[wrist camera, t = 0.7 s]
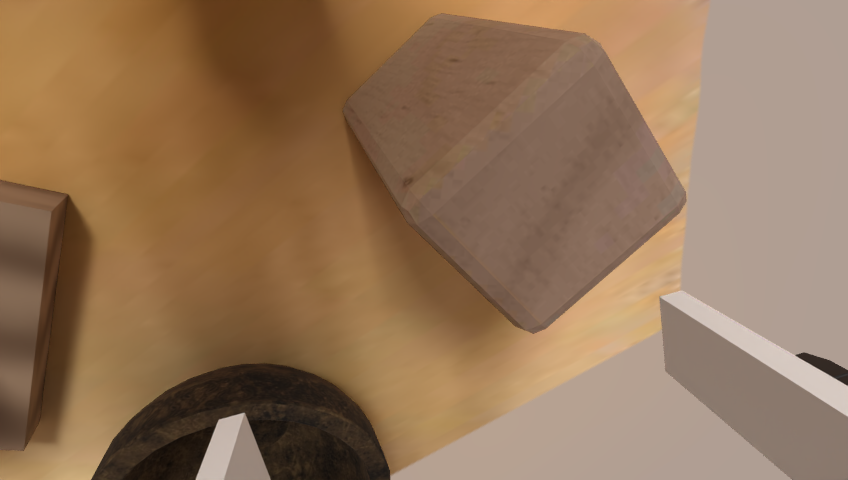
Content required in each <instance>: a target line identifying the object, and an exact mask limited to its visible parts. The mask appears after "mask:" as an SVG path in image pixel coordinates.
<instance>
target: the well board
mask: <svg viewBox="0 0 848 480" xmlns="http://www.w3.org/2000/svg"><path fill="white" fill-rule="evenodd" d="M67 199H68V194H63V193H59V192H54V191H49V190H44V189H40V188H35V187H30V186H25V185H21V184H16V183H11V182H6V181H2V180H0V450H17V451H24V449H25V448H26V446H27V444H28V442H29V440H30V438H31V436H32V434H33V432H34V431H35V429H36V427H37V425H38V423H39V421H40V413H41V405H42V397H43V389H44V381H45V373H46V365H47V357H48V349H49V342H50V334H51V326H52V318H53V310H54V302H55V294H56V286H57V278H58V270H59V262H60V254H61V246H62V238H63V230H64V222H65V214H66V207H67Z"/></svg>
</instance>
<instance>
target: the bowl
mask: <svg viewBox="0 0 848 480" xmlns="http://www.w3.org/2000/svg"><path fill="white" fill-rule="evenodd" d="M241 413H245V415H246V417H247V420H248V422H249V425H250V428H251V430H252V433H253V435H254V438H255V440H256V443H257V446H258V448H259V451H260V453H261V456H262V458H263V461H264V464H265V466H266V469H267V471H268V474H269V476H270V479H271V480H390V470H389V467H388V464H387V462H386V459H385V456H384V453H383V451H382V449H381V446H380V444H379V442H378V439H377V437H376V435H375V432H374V430H373V428H372V425H371V423H370V421H369V420H368V419H367V417H366V416H365V414H364V413H363V412H362V410H361V409H360V408H359V406H358V405H356V404H355V403H354V402H353V401H352V400H351V399H350V398H349V397H348V396H346V395H345V394H344V393H343V392H342V391H340V390H339V389H338V388H337V387H336V386H334V385H333V384H331V383H329V382H328V381H326V380H324V379H322V378H320V377H318V376H316V375H314V374H311V373H307V372H304V371H301V370H297V369H294V368H291V367H287V366H281V365H273V364H242V365H236V366H230V367H225V368H220V369H217V370H214V371H211V372H208V373H205V374H202V375H199V376H196V377H194V378H191V379H188V380H187V381H185V382H183V383H181V384H179V385H177V386H175V387H173V388H171V389H169V390H167V391H165V392H164V393H163V394H162V395H160V396H159V397H158V398H156V399H155V400H154V401H152V402H151V403H150V404H148V405H147V406H146V407H145V408H144V409H142V410H141V411H140V412H139V413H138V414H137V415H135V416H134V417H133V418H132V419H131V420H130V421H129V422H128V423H127V424H126V425H125V427H124V428H123V429H122V430H121V431H120V432H119V433H118V434H117V436H116V437H115V438H114V439H113V441H112V443H111V444H110V446H109V448H108V450H107V452H106V453H105V455H104V457H103V459H102V461H101V462H100V464H99V466H98V468H97V470H96V472H95V474H94V475H93V477H92V479H91V480H196V477H197V475H198V472H199V469H200V467H201V464H202V462H203V459H204V456H205V454H206V451H207V449H208V446H209V444H210V441H211V438H212V436H213V433H214V431H215V428H216V425H217V423H218V420H220V419H223V418H227V417H231V416H234V415H238V414H241Z"/></svg>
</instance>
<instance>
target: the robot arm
mask: <svg viewBox="0 0 848 480" xmlns="http://www.w3.org/2000/svg"><path fill="white" fill-rule="evenodd" d="M659 298H660V310H661V322H662V334H663V346H664V357H665V370H666V372H667V373H668V374H669V375H670V376H672V377H673V378H674V379H675V380H676V381H677V382H679V383H680V384H681V385H682V386H683V387H685V388H686V389H687V390H688V391H689V392H690V393H692V394H693V395H694V396H695V397H696V398H698V399H699V400H700V401H701V402H702V403H703V404H704V405H706V406H707V407H708V408H709V409H710V410H711V411H713V412H714V413H715V414H716V415H717V416H718V417H720V418H721V419H722V420H723V421H724V422H725V423H727V424H728V425H729V426H730V427H731V428H732V429H734V430H735V431H736V432H737V433H738V434H740V435H741V436H742V437H743V438H744V439H745V440H746V441H748V442H749V443H750V444H751V445H752V446H753V447H755V448H756V449H757V450H758V451H759V452H760V453H762V454H763V455H764V456H765V457H766V458H768V459H769V460H770V461H771V462H772V463H774V465H776V466H777V467H778V468H779V469H780V470H781V471H783V472H784V473H785V474H786V475H787V476H789V477H790V478H791V479H792V480H848V370H846V369H845V368H843V367H841V366H839V365H837V364H835V363H834V362H832V361H830V360H827V359H824V358H820V357H817V356H814V355H810V354H807V353H801V354H798V355H793V354H791V353H790V352H788V351H786V350H784V349H783V348H781V347H779V346H777V345H776V344H774V343H772V342H770V341H769V340H767V339H765V338H763V337H762V336H760V335H758V334H756V333H755V332H753V331H751V330H750V329H748V328H746V327H744V326H743V325H741V324H739V323H737V322H736V321H734V320H732V319H731V318H729V317H727V316H725V315H724V314H722V313H720V312H718V311H716V310H714V309H713V308H711V307H710V306H708V305H706V304H704V303H703V302H701V301H699V300H698V299H696V298H694V297H692V296H691V295H689V294H687V293H685V292H684V291H678V292H675V293H671V294H667V295H664V296H660V297H659ZM196 480H271V479H270V476H269V474H268V471H267V469H266V466H265V464H264V461H263V458H262V456H261V453H260V451H259V448H258V446H257V443H256V440H255V438H254V435H253V433H252V430H251V428H250V425H249V422H248V420H247V417H246V415H245V413H241V414H238V415H234V416H231V417H227V418H223V419H220V420H218V423H217V425H216V428H215V431H214V433H213V436H212V438H211V441H210V444H209V446H208V449H207V451H206V454H205V456H204V459H203V462H202V464H201V467H200V469H199V472H198V475H197V477H196Z"/></svg>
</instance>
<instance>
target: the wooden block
mask: <svg viewBox="0 0 848 480" xmlns="http://www.w3.org/2000/svg"><path fill="white" fill-rule="evenodd" d="M343 113H344V115H345V118H346V120H347V122H348V124H349V126H350V127H351V129H352V131H353V132H354V134H355V136H356V137H357V139H358V141H359V142H360V144H361V146H362V147H363V149H364V151H365V152H366V154H367V156H368V158H369V159H370V161H371V163H372V164H373V166H374V168H375V169H376V171H377V173H378V174H379V176H380V178H381V179H382V181H383V183H384V184H385V186H386V188H387V190H388V191H389V193H390V195H391V196H392V198H393V200H394V201H395V203H396V205H397V206H398V208H399V210H400V211H401V213H402V215H403V216H404V218H405V220H406V222H407V223H408V224H409V225H410V226H411V227H412V228H413V229H414V230H415V231H416V232H418V233H419V234H420V235H421V236H422V237H423V238H424V239H425V240H426V241H427V242H428V243H429V244H430V245H431V246H432V247H433V248H434V249H435V250H436V251H437V252H438V253H439V254H440V255H442V256H443V257H444V258H445V259H446V260H447V261H448V262H449V263H450V264H451V265H452V266H453V267H454V268H455V269H456V270H457V271H458V272H459V273H460V274H461V275H462V276H463V277H464V278H465V279H467V280H468V281H469V282H470V283H471V284H472V285H473V286H474V287H475V288H476V289H477V290H478V291H479V292H480V293H481V294H482V295H483V296H484V297H485V298H486V299H487V300H488V301H489V302H491V303H492V304H493V305H494V306H495V307H496V308H497V309H498V310H499V311H500V312H501V313H502V314H503V315H504V316H505V317H506V318H507V319H508V320H509V321H510V322H511V323H512V324H513V325H514V326H516V327H518V328H521V329H523V330H526V331H528V332H531V333H533V334H534V333H536V332H539V331H541V330H544V329H546V328H547V327H548V326H549V325H550V324H552V323H553V322H554V321H555V320H556V319H557V318H559V317H560V316H561V315H562V314H563V313H564V312H565V311H567V310H568V309H569V308H570V307H571V306H572V305H574V304H575V303H576V302H577V301H578V300H579V299H581V298H582V297H583V296H584V295H585V294H586V293H587V292H589V291H590V290H591V289H592V288H593V287H594V286H596V285H597V284H598V283H599V282H600V281H601V280H602V279H604V278H605V277H606V276H607V275H608V274H609V273H611V272H612V271H613V270H614V269H615V268H616V267H618V266H619V265H620V264H621V263H622V262H623V261H624V260H626V259H627V258H628V257H629V256H630V255H631V254H633V253H634V252H635V251H636V250H637V249H638V248H640V247H641V246H642V245H643V244H644V243H645V242H646V241H648V240H649V239H650V238H651V237H652V236H653V235H655V234H656V233H657V232H658V231H659V230H660V229H662V228H663V227H664V226H665V225H666V224H667V223H668V222H670V221H671V220H672V219H673V218H674V217H675V216H677V215H678V214H679V213H680V211H681V210H682V208H683V206H684V205H685V203H686V191H685V190H684V188H683V186H682V185H681V183H680V181H679V179H678V178H677V176H676V174H675V172H674V171H673V169H672V167H671V165H670V164H669V162H668V160H667V158H666V157H665V155H664V153H663V151H662V150H661V148H660V146H659V145H658V143H657V141H656V139H655V138H654V136H653V134H652V132H651V131H650V129H649V127H648V125H647V124H646V122H645V120H644V118H643V117H642V115H641V113H640V111H639V110H638V108H637V106H636V104H635V103H634V101H633V99H632V98H631V96H630V94H629V92H628V91H627V89H626V87H625V85H624V84H623V82H622V80H621V78H620V77H619V75H618V73H617V71H616V70H615V68H614V66H613V64H612V63H611V61H610V59H609V57H608V56H607V54H606V52H605V51H604V49H603V47H602V46H601V44H600V43H599V42H597V41H596V40H594V39H593V38H591V37H590V36H588V35H586V34H585V33H578V32H570V31H563V30H556V29H549V28H542V27H535V26H528V25H521V24H514V23H506V22H499V21H492V20H485V19H478V18H471V17H464V16H457V15H450V14H443V13H441V14H438V15H436V16H433V17H431V18H430V19H429V20H428V21H427V22H426V23H425V24H424V25H423V26H422V27H421V28H420V29H419V30H418V31H417V32H416V33H415V34H414V35H413V36H412V37H411V38H410V39H409V40H408V41H407V42H406V43H405V44H404V45H403V46H402V47H401V48H400V49H398V50H397V51H396V52H395V53H394V54H393V55H392V56H391V57H390V58H389V59H388V60H387V61H386V62H385V63H384V64H383V65H382V66H381V67H380V68H379V69H378V70H377V71H376V72H375V73H374V74H373V75H372V76H371V77H370V78H369V79H368V80H367V81H366V82H365V83H364V84H363V85H362V86H361V87H360V88H359V89H358V90H357V91H356V92H355V93H354V94H353V95H352V96H351V97H350V98H349V99H348V100H347V101H346V104H345V106H344V108H343Z"/></svg>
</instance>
